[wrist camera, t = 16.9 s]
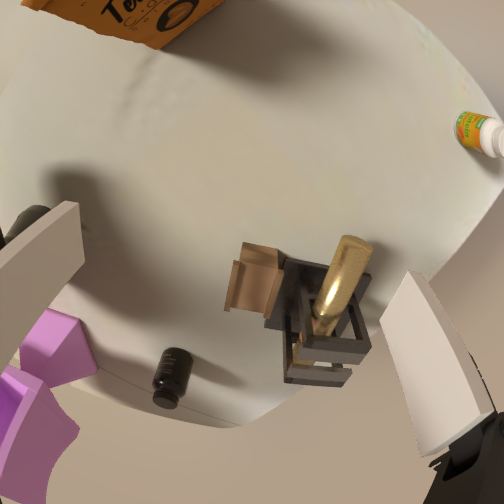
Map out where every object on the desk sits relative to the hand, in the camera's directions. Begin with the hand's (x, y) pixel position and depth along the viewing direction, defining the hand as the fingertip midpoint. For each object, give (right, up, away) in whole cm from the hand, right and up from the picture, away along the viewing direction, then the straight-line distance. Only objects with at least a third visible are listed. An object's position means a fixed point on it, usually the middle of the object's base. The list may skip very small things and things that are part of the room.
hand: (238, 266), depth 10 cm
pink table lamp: (-49, -21, +47) cm, 71 cm away
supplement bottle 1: (-15, -21, +45) cm, 52 cm away
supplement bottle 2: (+31, +18, +18) cm, 41 cm away
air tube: (+10, -9, +27) cm, 30 cm away
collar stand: (+11, -7, +35) cm, 37 cm away
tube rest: (+1, -2, +32) cm, 32 cm away
